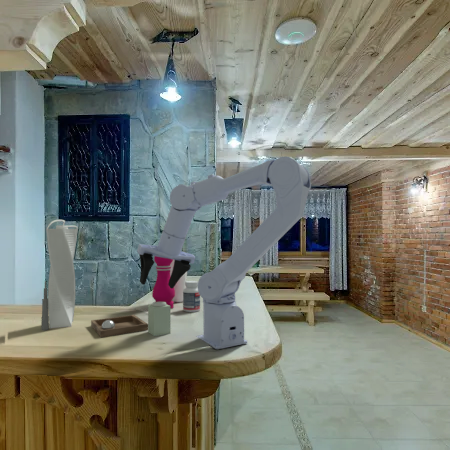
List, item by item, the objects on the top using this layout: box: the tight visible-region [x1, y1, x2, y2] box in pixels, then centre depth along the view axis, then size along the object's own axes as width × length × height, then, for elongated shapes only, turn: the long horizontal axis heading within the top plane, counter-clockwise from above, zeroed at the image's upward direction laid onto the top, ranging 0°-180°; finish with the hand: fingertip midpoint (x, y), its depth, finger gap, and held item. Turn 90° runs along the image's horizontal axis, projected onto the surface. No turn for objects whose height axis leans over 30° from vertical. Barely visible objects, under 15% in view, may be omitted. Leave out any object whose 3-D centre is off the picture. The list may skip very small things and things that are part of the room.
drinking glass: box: [170, 260, 188, 303], centre depth 121 cm, size 7×7×15 cm
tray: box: [90, 314, 148, 338], centre depth 86 cm, size 11×11×2 cm
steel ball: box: [102, 320, 115, 330], centre depth 82 cm, size 3×3×3 cm
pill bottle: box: [182, 280, 201, 313], centre depth 108 cm, size 5×5×9 cm
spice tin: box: [147, 301, 171, 337], centre depth 82 cm, size 4×4×8 cm
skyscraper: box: [40, 219, 79, 331], centre depth 89 cm, size 8×8×28 cm
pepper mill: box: [151, 256, 175, 310], centre depth 111 cm, size 7×7×20 cm
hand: (156, 284), depth 86 cm, fingers open, 7 cm apart
